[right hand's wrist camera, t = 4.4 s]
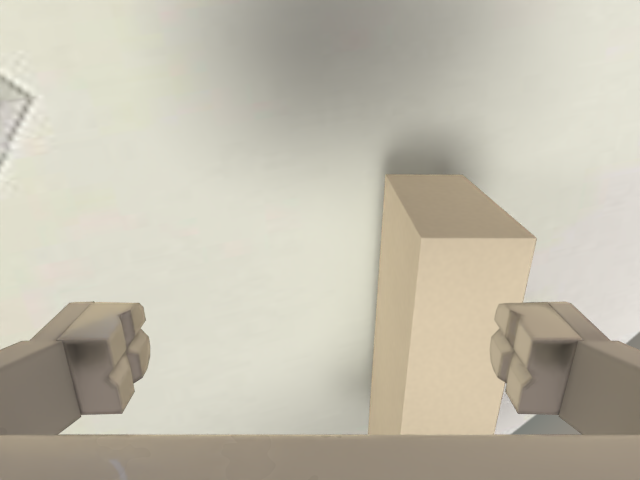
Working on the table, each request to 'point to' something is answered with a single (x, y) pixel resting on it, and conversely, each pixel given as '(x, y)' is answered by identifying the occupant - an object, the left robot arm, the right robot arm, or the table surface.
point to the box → (442, 305)
